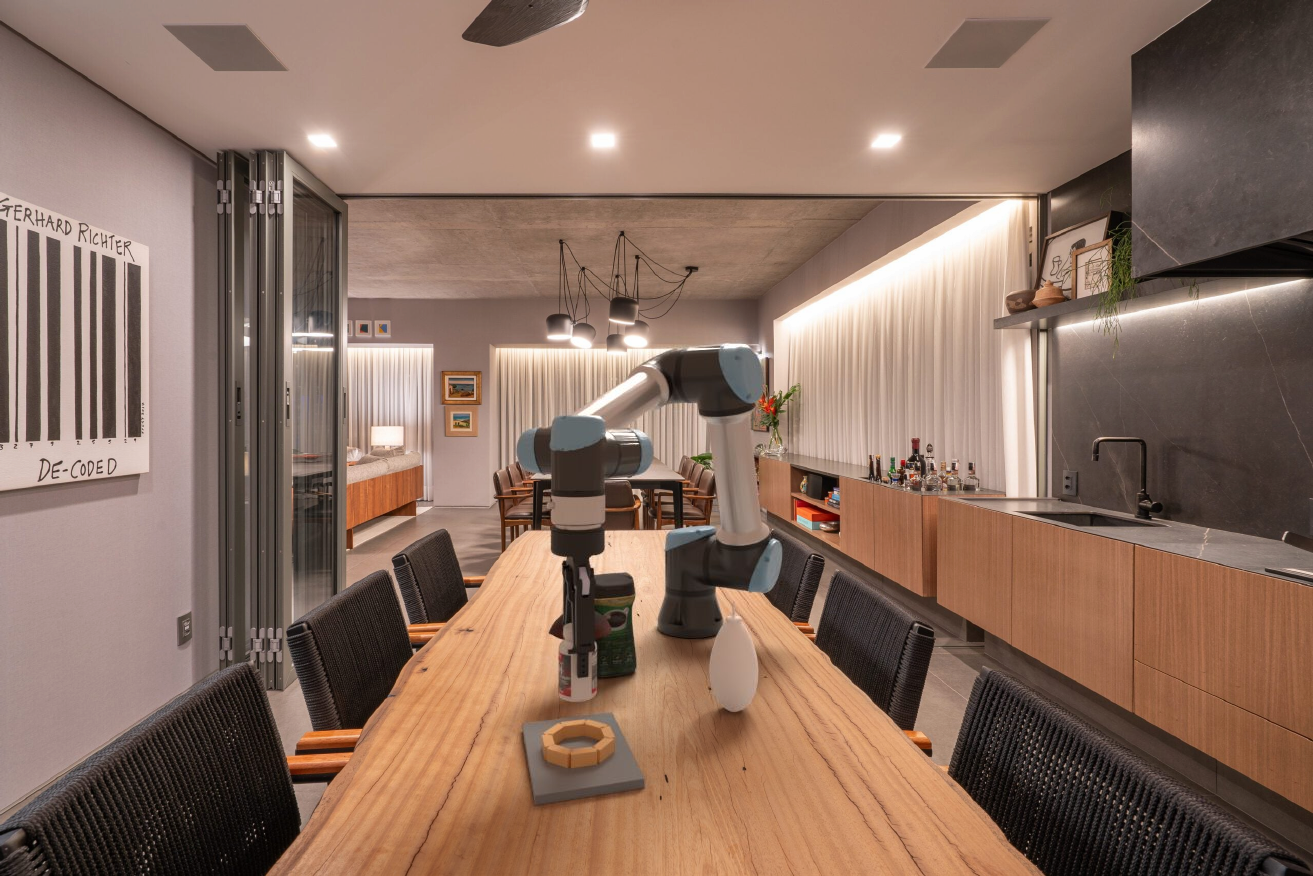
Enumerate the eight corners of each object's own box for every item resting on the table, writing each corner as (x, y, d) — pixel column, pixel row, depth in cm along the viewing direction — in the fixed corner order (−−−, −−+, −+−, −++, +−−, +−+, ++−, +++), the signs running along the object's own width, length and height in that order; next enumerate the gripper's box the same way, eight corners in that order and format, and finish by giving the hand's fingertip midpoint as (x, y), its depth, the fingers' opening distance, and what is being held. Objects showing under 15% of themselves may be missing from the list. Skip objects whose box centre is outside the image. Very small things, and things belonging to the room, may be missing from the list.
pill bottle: (550, 696, 91) (550, 626, 91) (578, 684, 95) (578, 618, 95) (576, 706, 87) (576, 634, 87) (604, 694, 91) (604, 625, 91)
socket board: (612, 719, 103) (612, 701, 103) (644, 787, 84) (644, 764, 84) (522, 731, 99) (522, 711, 99) (534, 805, 80) (534, 781, 80)
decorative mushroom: (542, 685, 116) (542, 602, 116) (600, 675, 121) (600, 595, 120) (558, 709, 106) (558, 619, 106) (620, 698, 111) (620, 611, 110)
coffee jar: (629, 660, 128) (629, 567, 128) (640, 675, 121) (640, 576, 121) (581, 666, 125) (580, 571, 125) (589, 681, 118) (589, 580, 118)
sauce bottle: (727, 724, 101) (727, 610, 101) (700, 705, 108) (701, 598, 108) (767, 714, 105) (767, 603, 104) (739, 696, 112) (739, 592, 111)
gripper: (543, 517, 98) (543, 668, 99) (559, 537, 81) (559, 722, 81) (592, 515, 100) (592, 663, 101) (618, 534, 83) (618, 714, 83)
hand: (577, 689), depth 91 cm, fingers closed on pill bottle, 5 cm apart
